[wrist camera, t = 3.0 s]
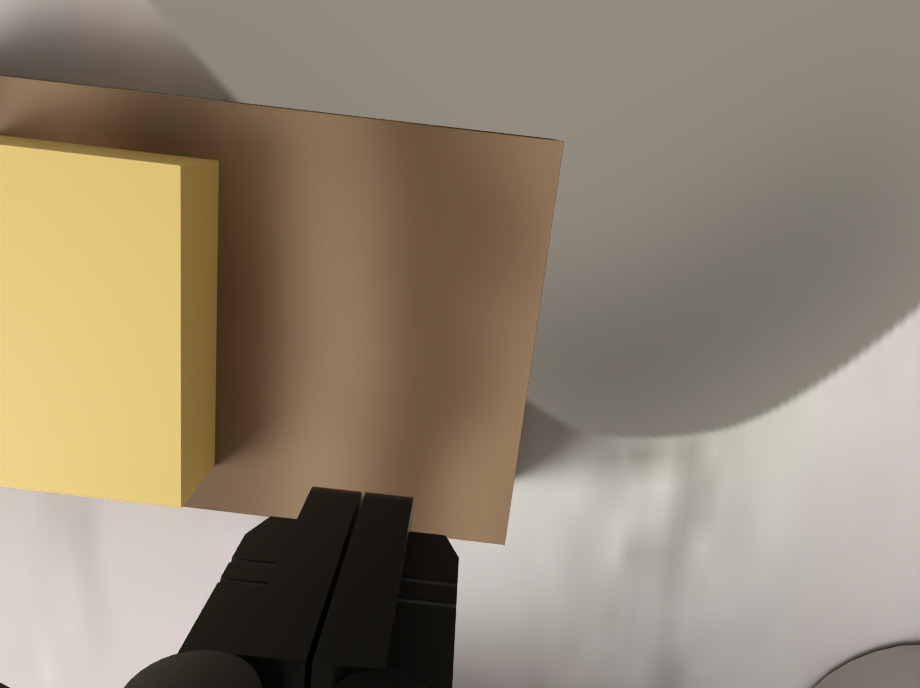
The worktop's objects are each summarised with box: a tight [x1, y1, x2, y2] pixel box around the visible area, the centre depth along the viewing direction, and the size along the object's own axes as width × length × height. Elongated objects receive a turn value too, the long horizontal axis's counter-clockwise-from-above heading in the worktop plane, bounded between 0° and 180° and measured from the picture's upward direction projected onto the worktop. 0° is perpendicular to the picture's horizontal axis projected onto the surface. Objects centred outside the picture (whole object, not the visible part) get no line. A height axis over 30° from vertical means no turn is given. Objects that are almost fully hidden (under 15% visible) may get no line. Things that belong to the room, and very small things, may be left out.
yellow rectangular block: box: [0, 135, 219, 508], centre depth 19 cm, size 6×9×2 cm, turn 174°
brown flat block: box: [0, 75, 564, 545], centre depth 23 cm, size 19×12×4 cm, turn 84°
